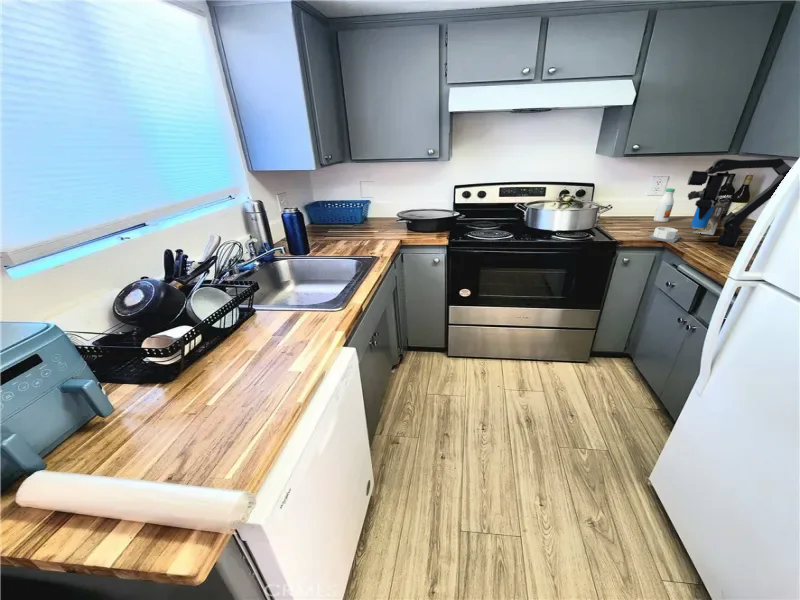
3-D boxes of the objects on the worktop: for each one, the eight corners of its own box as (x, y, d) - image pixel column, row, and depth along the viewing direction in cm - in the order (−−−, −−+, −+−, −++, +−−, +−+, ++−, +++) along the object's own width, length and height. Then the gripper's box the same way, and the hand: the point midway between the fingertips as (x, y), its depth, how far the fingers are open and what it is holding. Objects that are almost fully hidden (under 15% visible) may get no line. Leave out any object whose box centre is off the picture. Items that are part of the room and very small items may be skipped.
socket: (680, 238, 183) (683, 229, 181) (673, 242, 176) (676, 233, 174) (654, 234, 192) (657, 225, 189) (647, 238, 185) (650, 229, 183)
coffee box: (714, 233, 191) (725, 203, 183) (713, 235, 186) (725, 205, 179) (693, 230, 196) (704, 202, 189) (692, 232, 192) (703, 204, 185)
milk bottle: (656, 222, 215) (667, 189, 206) (650, 219, 222) (660, 187, 213) (670, 222, 214) (681, 189, 205) (663, 219, 220) (674, 187, 211)
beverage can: (706, 230, 171) (715, 206, 166) (689, 228, 174) (698, 204, 169) (705, 227, 175) (714, 204, 170) (689, 225, 179) (698, 202, 174)
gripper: (697, 182, 176) (687, 212, 183) (688, 186, 166) (677, 218, 173) (725, 184, 169) (713, 215, 176) (717, 188, 158) (704, 221, 165)
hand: (701, 217), depth 173 cm, fingers closed on beverage can, 6 cm apart
